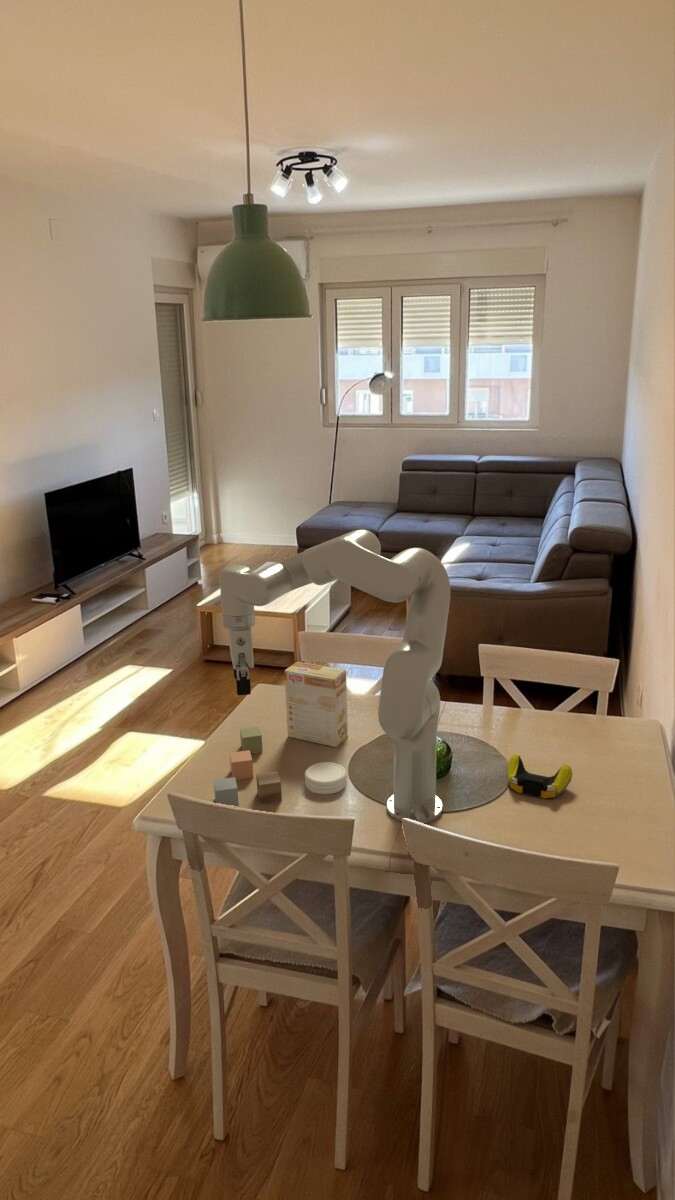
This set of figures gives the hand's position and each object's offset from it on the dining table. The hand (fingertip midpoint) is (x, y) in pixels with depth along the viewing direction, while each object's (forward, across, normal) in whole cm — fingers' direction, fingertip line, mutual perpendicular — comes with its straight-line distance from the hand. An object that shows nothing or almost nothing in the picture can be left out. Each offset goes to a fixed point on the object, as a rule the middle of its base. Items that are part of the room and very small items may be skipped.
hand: (242, 685), depth 198 cm
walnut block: (+23, -13, -4) cm, 27 cm away
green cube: (+23, +11, -2) cm, 26 cm away
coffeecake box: (+23, +14, -20) cm, 34 cm away
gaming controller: (+23, -23, -66) cm, 74 cm away
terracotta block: (+23, -1, +1) cm, 23 cm away
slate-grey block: (+23, -14, +6) cm, 27 cm away
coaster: (+23, -10, -18) cm, 31 cm away
